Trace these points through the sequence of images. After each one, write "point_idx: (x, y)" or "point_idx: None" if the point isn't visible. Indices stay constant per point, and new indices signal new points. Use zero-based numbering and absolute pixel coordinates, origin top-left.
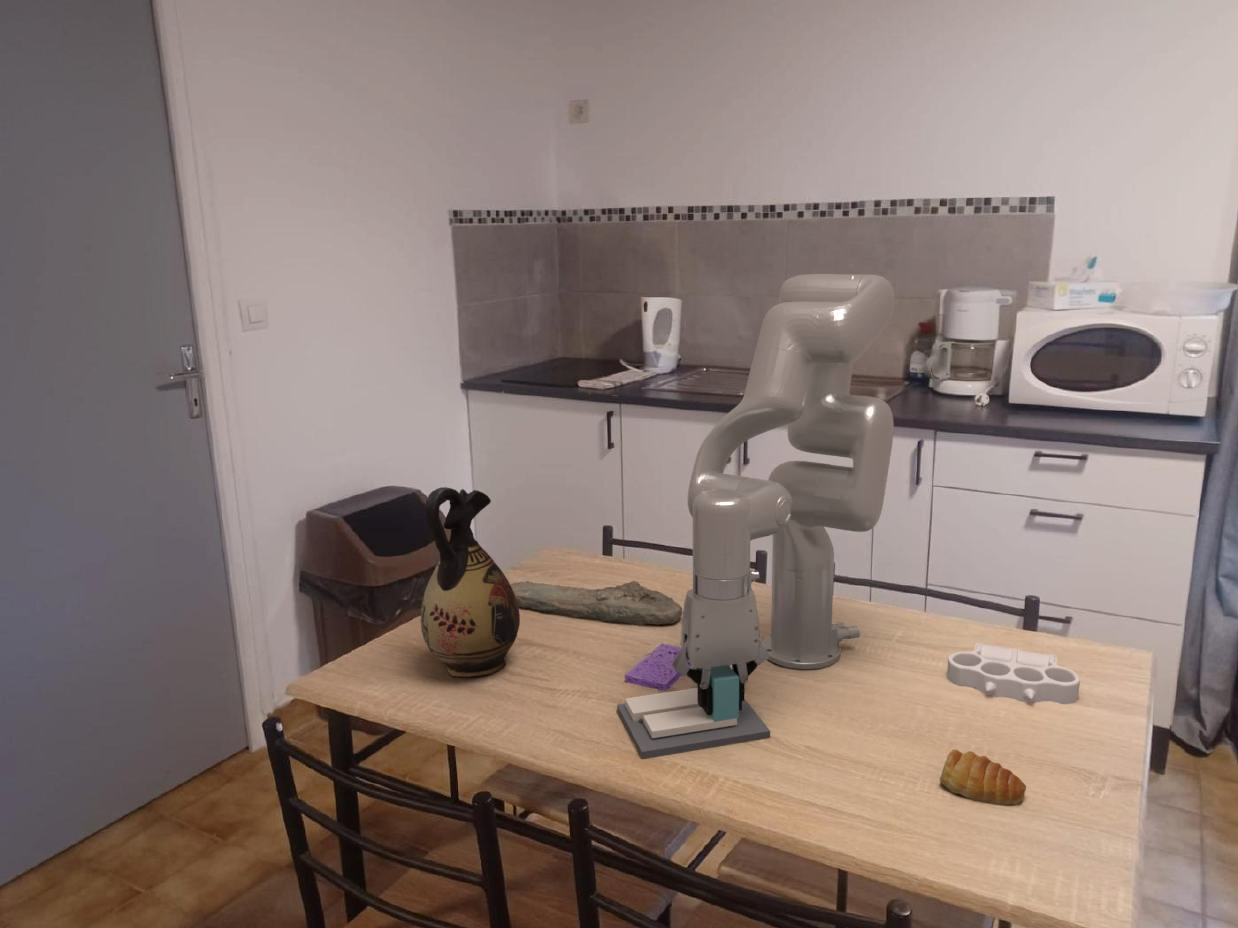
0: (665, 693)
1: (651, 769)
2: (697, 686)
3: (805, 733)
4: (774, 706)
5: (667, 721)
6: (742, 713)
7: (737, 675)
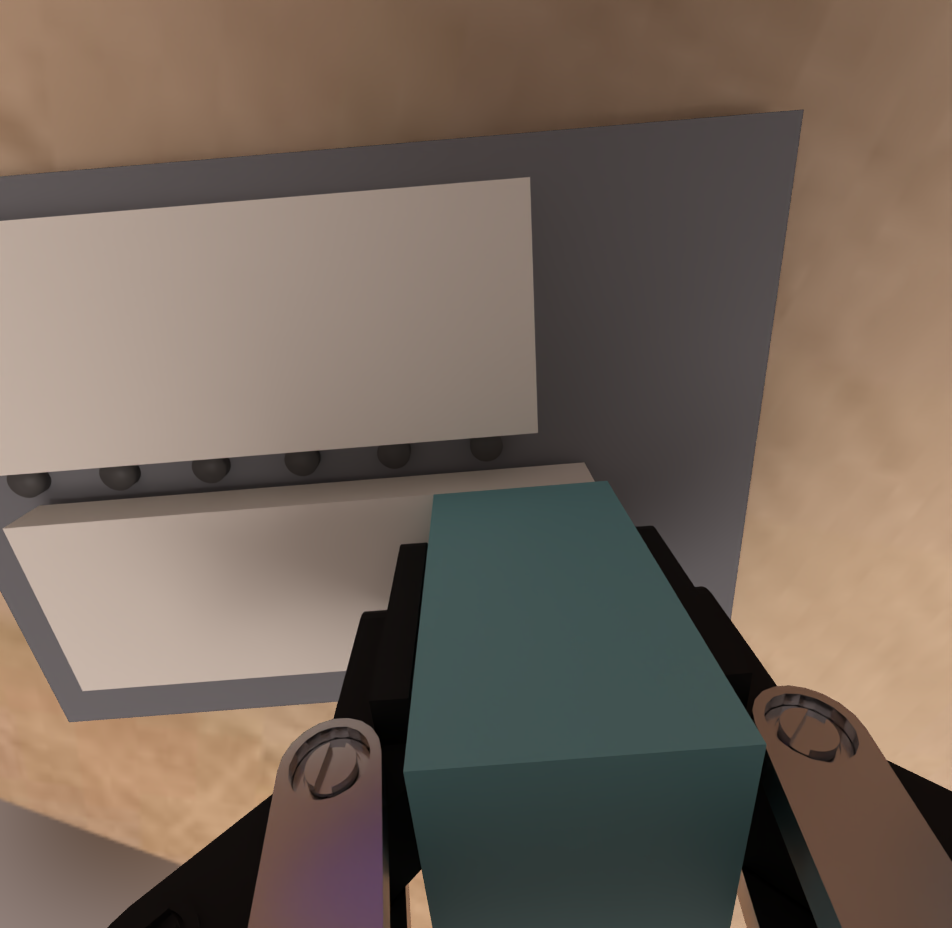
0: (162, 226)
1: (139, 755)
2: (336, 710)
3: (875, 641)
4: (907, 375)
5: (173, 617)
6: (668, 499)
7: (746, 847)
